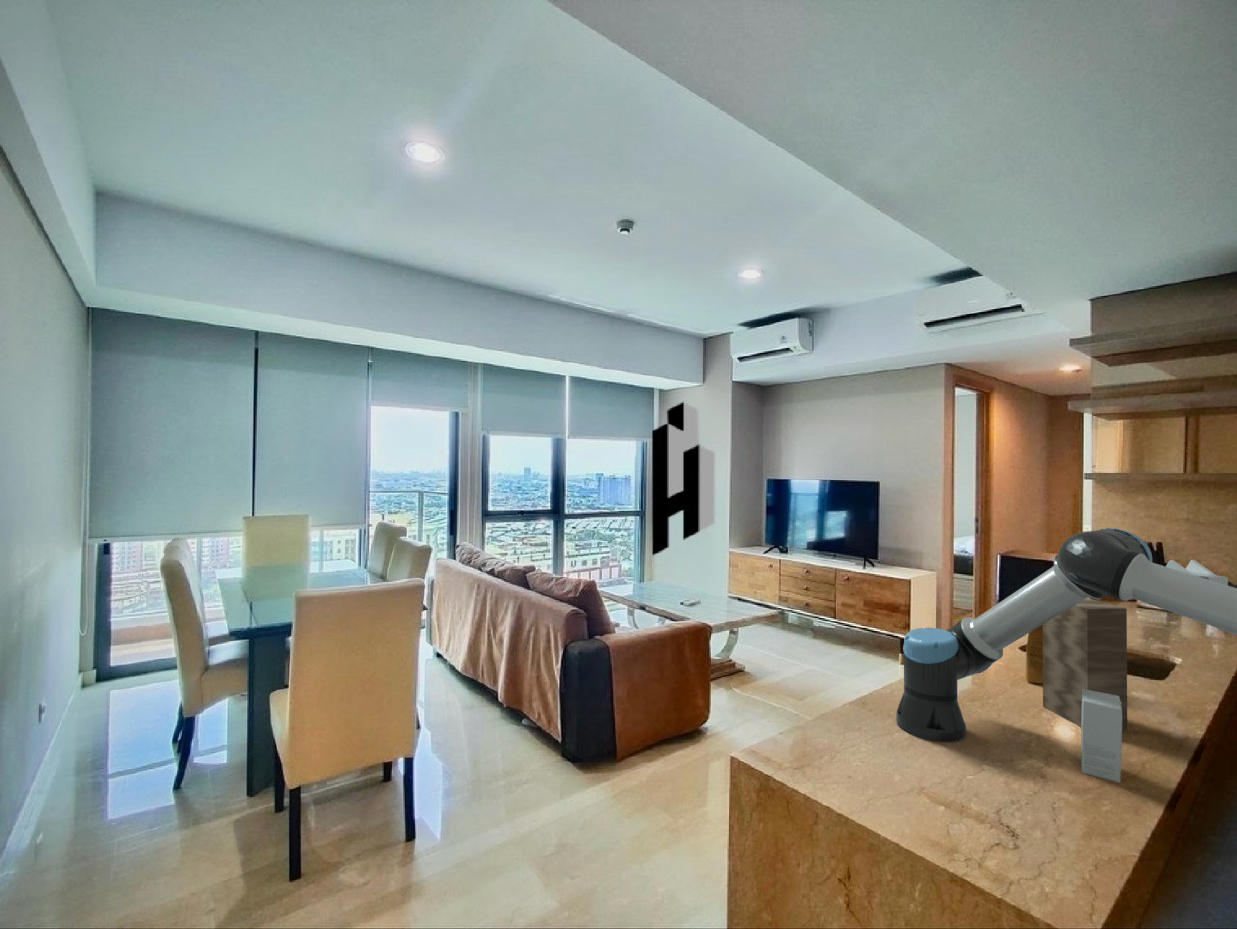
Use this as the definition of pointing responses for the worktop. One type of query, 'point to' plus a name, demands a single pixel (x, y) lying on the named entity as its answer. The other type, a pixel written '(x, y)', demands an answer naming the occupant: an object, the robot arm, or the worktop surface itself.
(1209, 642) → the worktop surface
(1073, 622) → the walnut stand
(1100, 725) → the skincare box
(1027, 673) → the brown bottle
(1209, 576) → the steel bar
